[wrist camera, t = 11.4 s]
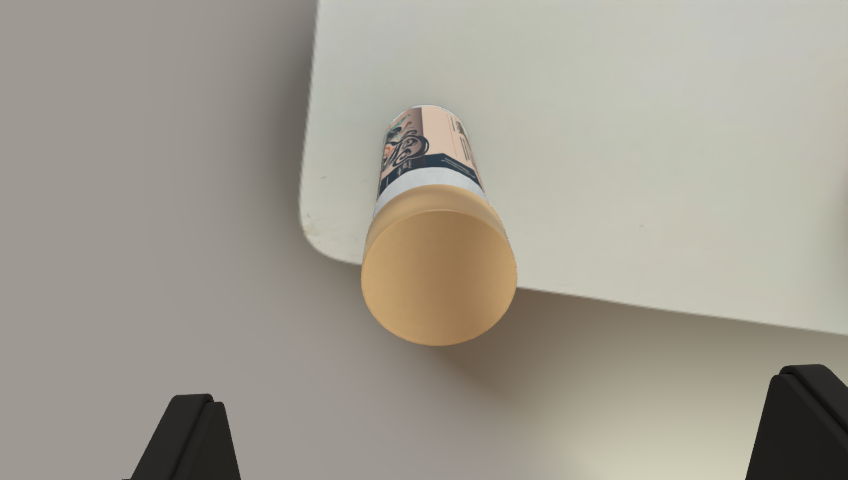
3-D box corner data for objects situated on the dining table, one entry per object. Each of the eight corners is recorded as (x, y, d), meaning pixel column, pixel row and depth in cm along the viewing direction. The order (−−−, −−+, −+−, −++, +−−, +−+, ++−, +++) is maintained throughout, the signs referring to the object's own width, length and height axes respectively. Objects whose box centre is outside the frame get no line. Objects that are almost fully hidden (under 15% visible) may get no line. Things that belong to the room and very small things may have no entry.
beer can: (391, 94, 33) (383, 164, 22) (477, 112, 34) (510, 189, 23) (376, 176, 35) (361, 278, 24) (457, 192, 36) (478, 298, 25)
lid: (371, 314, 25) (368, 350, 23) (358, 187, 23) (352, 214, 21) (506, 306, 25) (516, 342, 23) (507, 179, 23) (518, 204, 21)
